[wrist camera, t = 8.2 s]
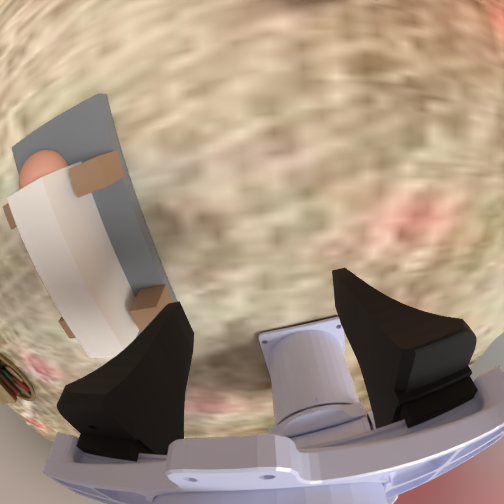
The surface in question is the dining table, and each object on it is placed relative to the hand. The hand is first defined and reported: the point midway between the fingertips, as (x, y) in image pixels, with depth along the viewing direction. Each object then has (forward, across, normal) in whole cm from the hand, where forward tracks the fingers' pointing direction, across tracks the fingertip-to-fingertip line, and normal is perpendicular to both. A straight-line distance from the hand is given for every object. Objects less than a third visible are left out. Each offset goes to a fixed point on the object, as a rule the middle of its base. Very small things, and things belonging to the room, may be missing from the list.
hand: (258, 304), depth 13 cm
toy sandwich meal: (+10, +48, +16) cm, 51 cm away
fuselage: (+8, +13, -2) cm, 15 cm away
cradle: (+9, +13, -2) cm, 16 cm away
